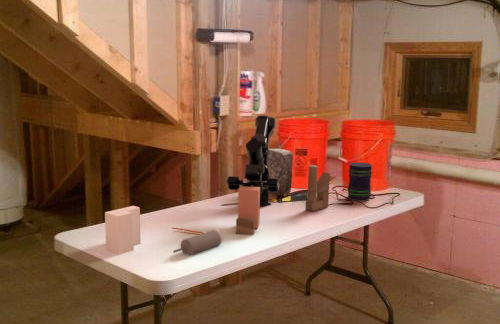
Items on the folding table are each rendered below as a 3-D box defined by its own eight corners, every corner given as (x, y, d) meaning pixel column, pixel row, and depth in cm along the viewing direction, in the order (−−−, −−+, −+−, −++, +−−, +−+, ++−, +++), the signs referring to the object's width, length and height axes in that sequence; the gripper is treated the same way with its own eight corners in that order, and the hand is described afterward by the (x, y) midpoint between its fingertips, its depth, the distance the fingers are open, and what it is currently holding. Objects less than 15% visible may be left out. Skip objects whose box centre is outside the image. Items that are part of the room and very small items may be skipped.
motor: (231, 242, 176) (229, 227, 175) (180, 260, 159) (178, 243, 158) (182, 238, 191) (180, 224, 190) (131, 254, 174) (129, 239, 174)
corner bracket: (119, 254, 163) (118, 216, 161) (97, 246, 170) (96, 209, 168) (147, 246, 171) (146, 209, 169) (125, 238, 178) (124, 203, 176)
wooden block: (328, 207, 221) (330, 164, 218) (312, 212, 214) (313, 167, 210) (321, 205, 224) (323, 162, 220) (305, 210, 216) (306, 166, 213)
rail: (245, 217, 204) (245, 205, 203) (260, 218, 203) (261, 205, 202) (236, 233, 185) (236, 219, 184) (253, 234, 184) (253, 220, 183)
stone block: (263, 192, 245) (264, 148, 242) (274, 190, 250) (275, 147, 246) (283, 197, 235) (284, 152, 232) (294, 195, 240) (296, 151, 236)
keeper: (240, 223, 196) (240, 186, 194) (259, 224, 195) (260, 187, 193) (238, 227, 191) (238, 189, 189) (257, 228, 190) (258, 190, 188)
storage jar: (347, 200, 233) (349, 166, 231) (347, 194, 243) (348, 162, 240) (371, 201, 232) (373, 167, 229) (369, 195, 241) (371, 162, 239)
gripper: (228, 154, 198) (221, 190, 189) (278, 156, 195) (274, 193, 187) (231, 171, 207) (226, 206, 198) (280, 173, 205) (276, 209, 196)
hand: (250, 203), depth 195 cm, fingers closed, pressing on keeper
